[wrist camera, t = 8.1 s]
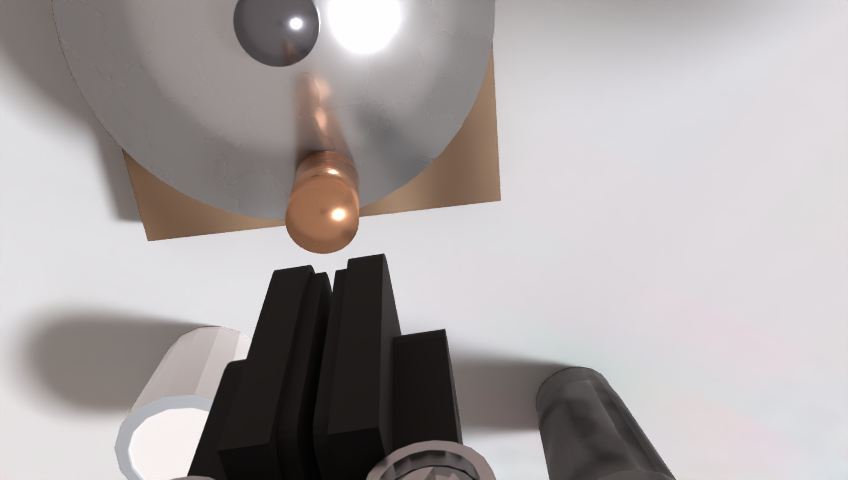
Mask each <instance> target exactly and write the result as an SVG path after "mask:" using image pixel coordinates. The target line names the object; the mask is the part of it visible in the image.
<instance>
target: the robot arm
mask: <svg viewBox="0 0 848 480" xmlns="http://www.w3.org/2000/svg"><path fill="white" fill-rule="evenodd" d="M171 480H496V478H495V476H494V473H493V471H492V469H491V467H490V466H489V464H488V463H487V461H486V460H485V458H484V457H483V456H481V455H480V454H479V453H477V452H476V451H475V450H473V449H472V448H470V447H467V446H464V445H463V441H462V433H461V426H460V418H459V411H458V404H457V398H456V391H455V385H454V378H453V372H452V366H451V360H450V354H449V348H448V342H447V336H446V331H445V329H441V330H435V331H428V332H421V333H415V334H408V335H402V336H401V331H400V325H399V320H398V315H397V310H396V305H395V300H394V295H393V290H392V285H391V280H390V275H389V269H388V265H387V260H386V257H385V254H378V255H371V256H365V257H358V258H352V259H348V264H347V269H342V270H336V272H335V278H334V285H333V292H332V289H331V285H330V281H329V278H328V275H327V273H326V272H323V273H316V274H315V272H314V269H313V267H312V266H311V265H307V266H300V267H294V268H287V269H281V270H274V272H273V275H272V278H271V281H270V284H269V287H268V290H267V294H266V297H265V300H264V303H263V306H262V310H261V313H260V316H259V319H258V322H257V326H256V329H255V332H254V335H253V338H252V342H251V345H250V348H249V351H248V354H247V358H246V359H242V360H236V361H231V362H229V363H228V364H227V365H226V367H225V369H224V372H223V375H222V377H221V380H220V383H219V386H218V389H217V392H216V395H215V397H214V400H213V403H212V406H211V409H210V412H209V414H208V417H207V420H206V423H205V426H204V429H203V431H202V434H201V437H200V440H199V443H198V446H197V449H196V451H195V454H194V457H193V460H192V463H191V466H190V468H189V471H188V474H187V477H180V478H174V479H171Z"/></svg>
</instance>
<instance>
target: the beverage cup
mask: <svg viewBox="0 0 848 480" xmlns="http://www.w3.org/2000/svg"><path fill="white" fill-rule="evenodd" d="M536 408H537V411H538V419H539V430H540V435H541V440H542V444H543V449H544V454H545V459H546V464H547V469H548V474H549V479H550V480H676V479H675V478H674V476H673V475H672V473H671V472H670V470H669V469H668V467H667V466H666V464H665V463H664V461H663V460H662V458H661V457H660V456H659V454H658V453H657V451H656V450H655V448H654V447H653V445H652V444H651V442H650V441H649V439H648V438H647V436H646V435H645V433H644V432H643V431H642V429H641V428H640V426H639V425H638V423H637V422H636V420H635V419H634V417H633V416H632V414H631V413H630V411H629V410H628V408H627V407H626V406H625V404H624V403H623V401H622V400H621V398H620V397H619V395H618V394H617V393H616V392H615V391H614V390H613V389H612V388H611V386H610V385H609V383H608V381H607V380H606V379H605V378H604V377H603V376H602V374H600V373H598V372H596V371H595V370H593V369H589V368H584V367H575V368H567V369H565V370H562V371H559V372H557V373H555V374H554V375H552V376H551V377H549V378H548V379H547V380H546V381H545V382H544V383H543V385H542V386H541V387H540V389H539V392H538V394H537V397H536Z"/></svg>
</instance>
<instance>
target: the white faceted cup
mask: <svg viewBox="0 0 848 480" xmlns="http://www.w3.org/2000/svg"><path fill="white" fill-rule="evenodd" d="M251 342H252V340H251V339H250V338H248V337H247V336H245V335H244V334H242V333H241V332H239V331H235V330H231V329H228V328H224V327H221V326H218V327H200V328H197V329H195V330H193V331H190V332H188V333H186V334H183V335H181V336H180V337H179V339H178V340H177V341H176V342H175V343H174V344H173V345H172V346H171V347H170V348H169V350H168V351H167V353H166V354H165V356H164V358H163V359H162V361H161V362H160V364H159V365H158V367H157V369H156V370H155V372H154V373H153V375H152V377H151V378H150V380H149V381H148V383H147V385H146V386H145V388H144V389H143V391H142V392H141V394H140V396H139V397H138V399H137V400H136V402H135V404H134V405H133V407H132V408H131V410H130V412H129V413H128V415H127V416H126V418H125V419H124V421H123V423H122V424H121V426H120V430H119V433H118V437H117V440H116V444H115V452H116V456H117V460H118V464H119V468H120V471H121V472H122V473H123V474H124V475H125V477H126V478H127V479H128V480H171V479H174V478H180V477H187V474H188V471H189V468H190V466H191V463H192V460H193V457H194V454H195V451H196V449H197V446H198V443H199V440H200V437H201V434H202V431H203V429H204V426H205V423H206V420H207V417H208V414H209V412H210V409H211V406H212V403H213V400H214V397H215V395H216V392H217V389H218V386H219V383H220V380H221V377H222V375H223V372H224V369H225V367H226V365H227V364H228V363H229V362H231V361H236V360H242V359H246V358H247V354H248V351H249V348H250V345H251Z"/></svg>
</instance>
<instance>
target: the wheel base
mask: <svg viewBox="0 0 848 480" xmlns="http://www.w3.org/2000/svg"><path fill="white" fill-rule="evenodd" d="M122 151H123V154H124V158H125V161H126V165H127V168H128V172H129V175H130V179H131V182H132V186H133V190H134V193H135V197H136V200H137V204H138V207H139V211H140V214H141V218H142V222H143V225H144V229H145V232H146V236H147V239H148V241H155V240H164V239H172V238H181V237H190V236H198V235H207V234H216V233H224V232H233V231H242V230H250V229H259V228H268V227H276V226H285V225H286V224H285V220H276V219H262V218H256V217H251V216H245V215H240V214H235V213H232V212H229V211H225V210H222V209H219V208H216V207H213V206H210V205H207V204H205V203H203V202H200V201H198V200H196V199H194V198H191V197H189V196H187V195H185V194H183V193H181V192H180V191H178V190H176V189H175V188H173V187H171V186H170V185H168V184H166V183H164V182H163V181H161V180H160V179H158V178H157V177H156V176H154V175H153V174H152V173H150V172H149V171H148V170H146V169H145V168H144V167H142V166H141V165H140V164H139V163H138V162H136V161H135V160H134V159H133V158H132V157H131V156H130V155H129V154H128V153H127V152H126V151H125V150H124V149H123V148H122ZM493 201H501V195H500V176H499V157H498V137H497V118H496V99H495V80H494V60H493V41H492V46H491V53H490V58H489V62H488V65H487V69H486V72H485V76H484V80H483V83H482V85H481V88H480V90H479V93H478V95H477V97H476V100H475V102H474V104H473V107H472V109H471V110H470V112H469V114H468V116H467V117H466V119H465V121H464V123H463V124H462V126H461V128H460V129H459V131H458V132H457V134H456V135H455V136H454V137H453V139H452V140H451V141H450V143H449V144H448V145H447V147H446V148H445V149H444V151H443V152H442V153H441V154H440V155H439V156H438V157H437V158H436V159H435V160H434V161H433V162H432V163H431V164H430V165H429V166H428V167H427V168H426V169H425V170H423V171H422V172H421V173H420V174H418V175H417V176H416V177H415V178H413V179H412V180H411V181H409V182H408V183H407V184H406V185H404V186H402V187H401V188H399V189H397V190H396V191H394V192H392V193H391V194H389V195H387V196H386V197H384V198H382V199H379V200H377V201H375V202H373V203H370V204H368V205H366V206H364V207H361V208H359V217H363V216H372V215H380V214H389V213H398V212H406V211H415V210H424V209H432V208H441V207H450V206H458V205H467V204H476V203H484V202H493Z"/></svg>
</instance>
